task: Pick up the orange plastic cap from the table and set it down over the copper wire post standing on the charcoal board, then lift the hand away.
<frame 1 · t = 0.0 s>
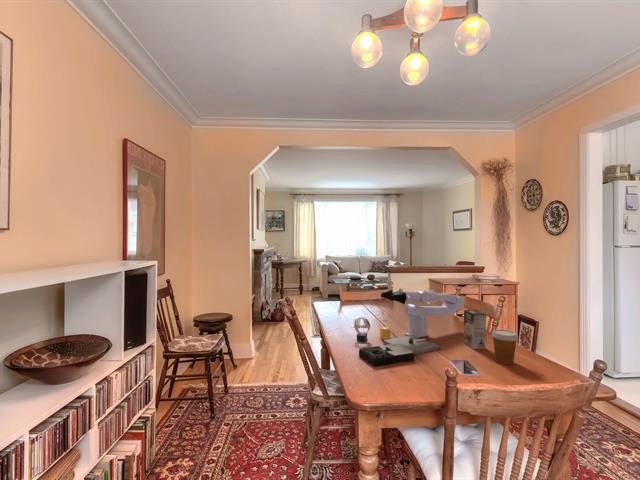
hand: (386, 296, 165), 22 cm above the table, tool horizontal, fingers open, 7 cm apart
mobile phone: (464, 369, 131), on the table
disposable coffee cup: (504, 362, 138), on the table
coffee box: (474, 346, 158), on the table
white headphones: (358, 328, 189), on the table
orange cap: (385, 338, 169), on the table
multimeter: (386, 359, 141), on the table
watch: (362, 340, 166), on the table
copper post: (411, 339, 157), point 3 cm above the table
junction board: (410, 346, 157), on the table
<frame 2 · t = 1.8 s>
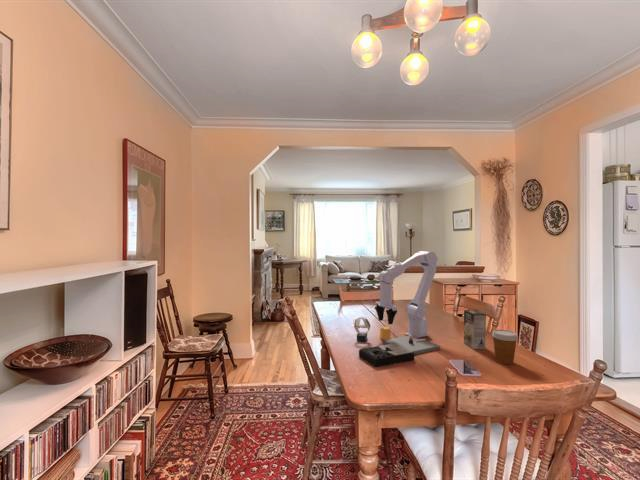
hand: (385, 322, 169), 8 cm above the table, tool pointing down, fingers open, 7 cm apart
nothing on the table moved.
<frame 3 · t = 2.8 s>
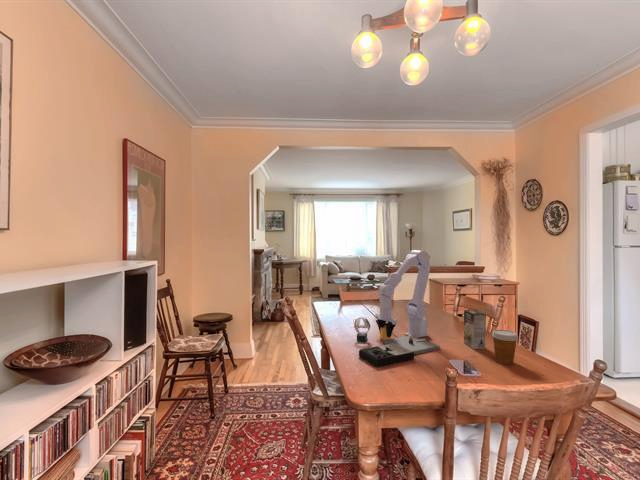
hand: (385, 335, 169), 1 cm above the table, tool pointing down, fingers closed on orange cap, 5 cm apart
orange cap: (385, 338, 169), on the table, touching gripper
everything else where it was.
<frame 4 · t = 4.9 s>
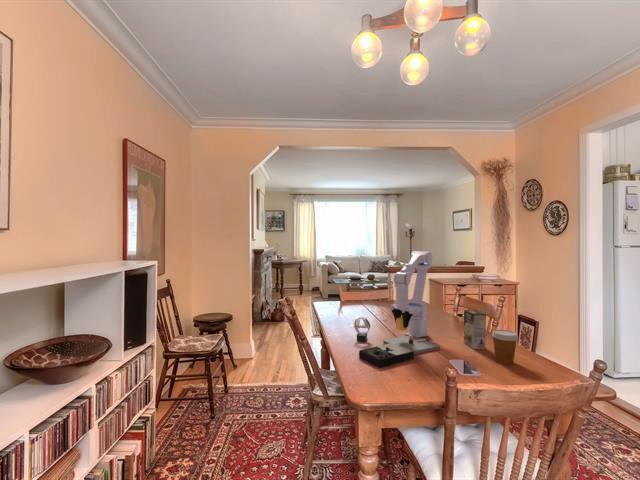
hand: (401, 325, 161), 8 cm above the table, tool pointing down, fingers closed on orange cap, 5 cm apart
orange cap: (401, 328, 161), point 7 cm above the table, touching gripper
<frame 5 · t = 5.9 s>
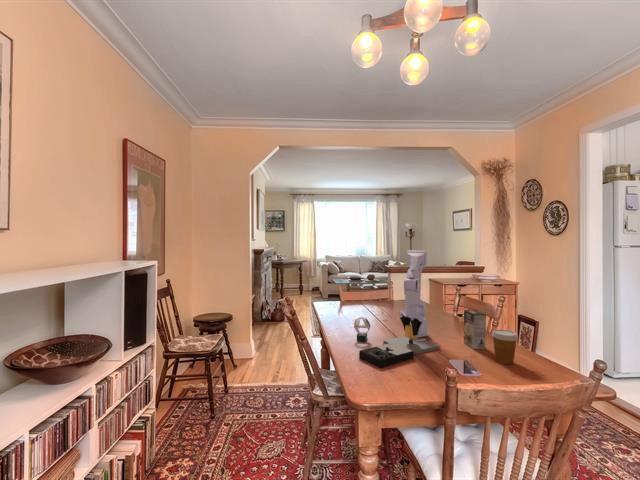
hand: (411, 333, 157), 6 cm above the table, tool pointing down, fingers closed on orange cap, 5 cm apart
orange cap: (410, 336, 157), point 4 cm above the table, touching gripper
when the fingers open (4 cm above the table, at t = 6.8 s): orange cap stays where it is, resting on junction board.
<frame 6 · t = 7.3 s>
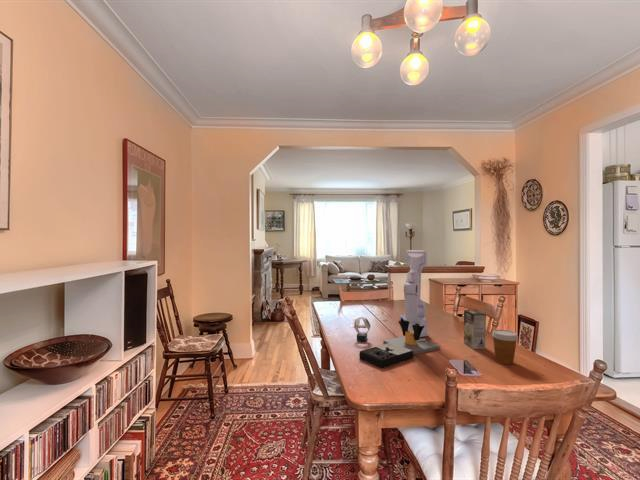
hand: (411, 337, 157), 4 cm above the table, tool pointing down, fingers open, 7 cm apart
orange cap: (410, 343, 157), point 1 cm above the table, touching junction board
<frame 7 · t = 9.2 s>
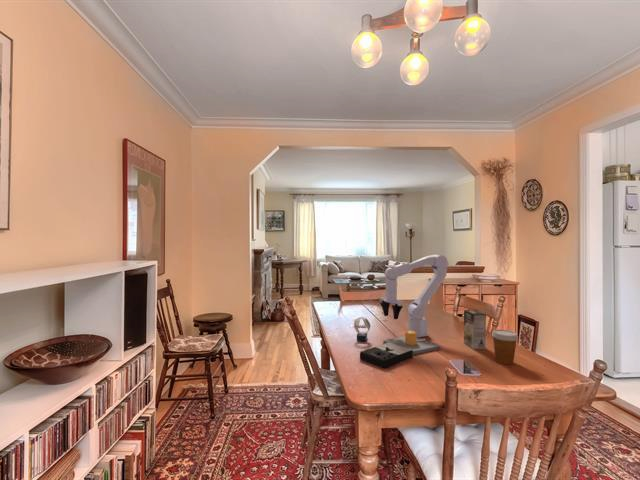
hand: (390, 317, 173), 9 cm above the table, tool pointing down, fingers open, 7 cm apart
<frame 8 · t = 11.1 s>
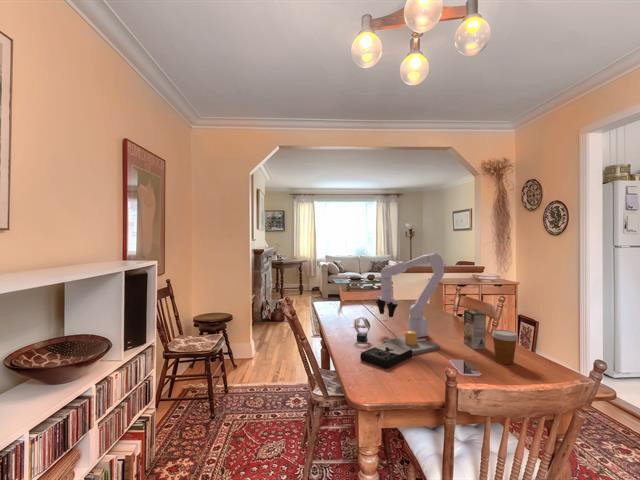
hand: (386, 315, 178), 9 cm above the table, tool pointing down, fingers open, 7 cm apart
at the end: orange cap 0.1 cm from the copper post (horizontally); orange cap point 1.5 cm above the table; orange cap tilted 0° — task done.
